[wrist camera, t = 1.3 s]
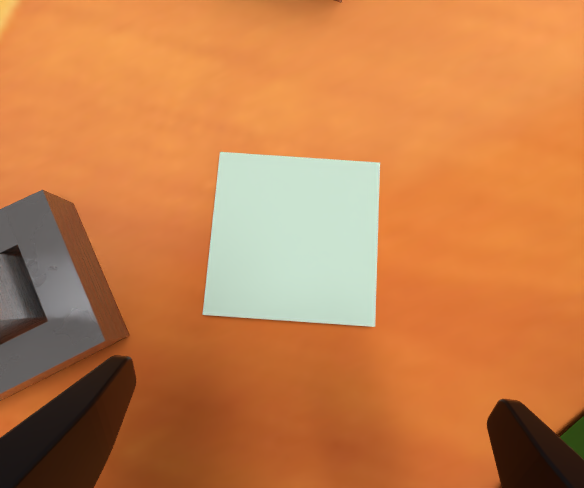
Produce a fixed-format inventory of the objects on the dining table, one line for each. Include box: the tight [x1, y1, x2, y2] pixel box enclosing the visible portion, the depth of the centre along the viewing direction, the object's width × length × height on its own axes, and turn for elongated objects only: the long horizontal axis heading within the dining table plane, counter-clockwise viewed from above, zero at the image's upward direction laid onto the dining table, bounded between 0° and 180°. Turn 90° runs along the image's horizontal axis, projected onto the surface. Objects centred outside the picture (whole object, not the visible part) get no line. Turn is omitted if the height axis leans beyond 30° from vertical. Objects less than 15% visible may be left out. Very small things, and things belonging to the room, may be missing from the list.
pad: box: [203, 152, 380, 327], centre depth 23 cm, size 11×11×1 cm
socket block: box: [0, 190, 129, 401], centre depth 21 cm, size 10×10×3 cm
